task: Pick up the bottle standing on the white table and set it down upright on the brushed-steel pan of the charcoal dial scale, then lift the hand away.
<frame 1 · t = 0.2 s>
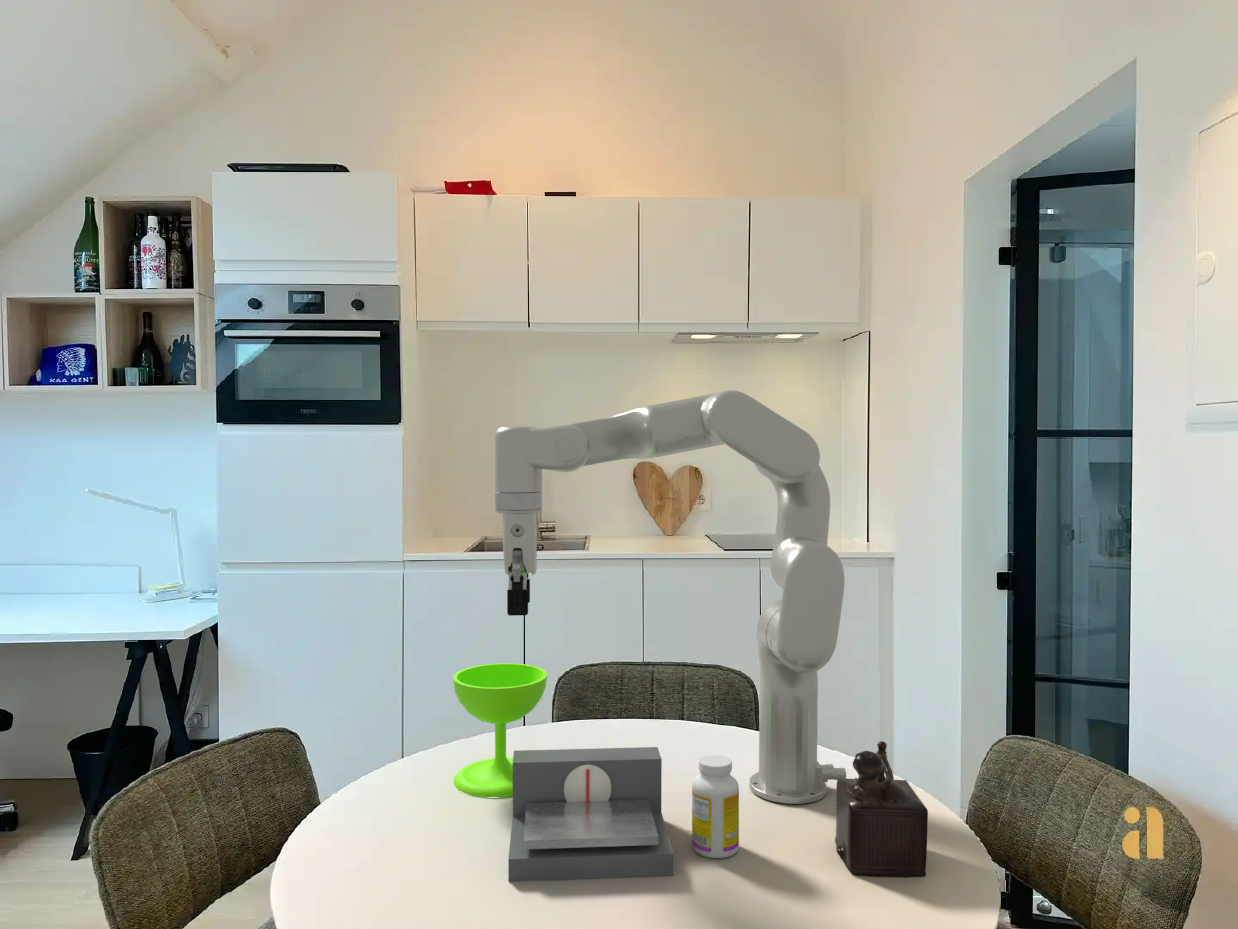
hand: (519, 608, 142), 31 cm above the table, tool pointing down, fingers open, 9 cm apart
scale: (588, 847, 126), on the table
supplement bottle: (715, 850, 126), on the table
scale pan: (589, 823, 124), point 5 cm above the table, slide at 0.0 cm, touching scale
manual coffee grinder: (881, 868, 121), on the table
wineglass: (500, 780, 151), on the table
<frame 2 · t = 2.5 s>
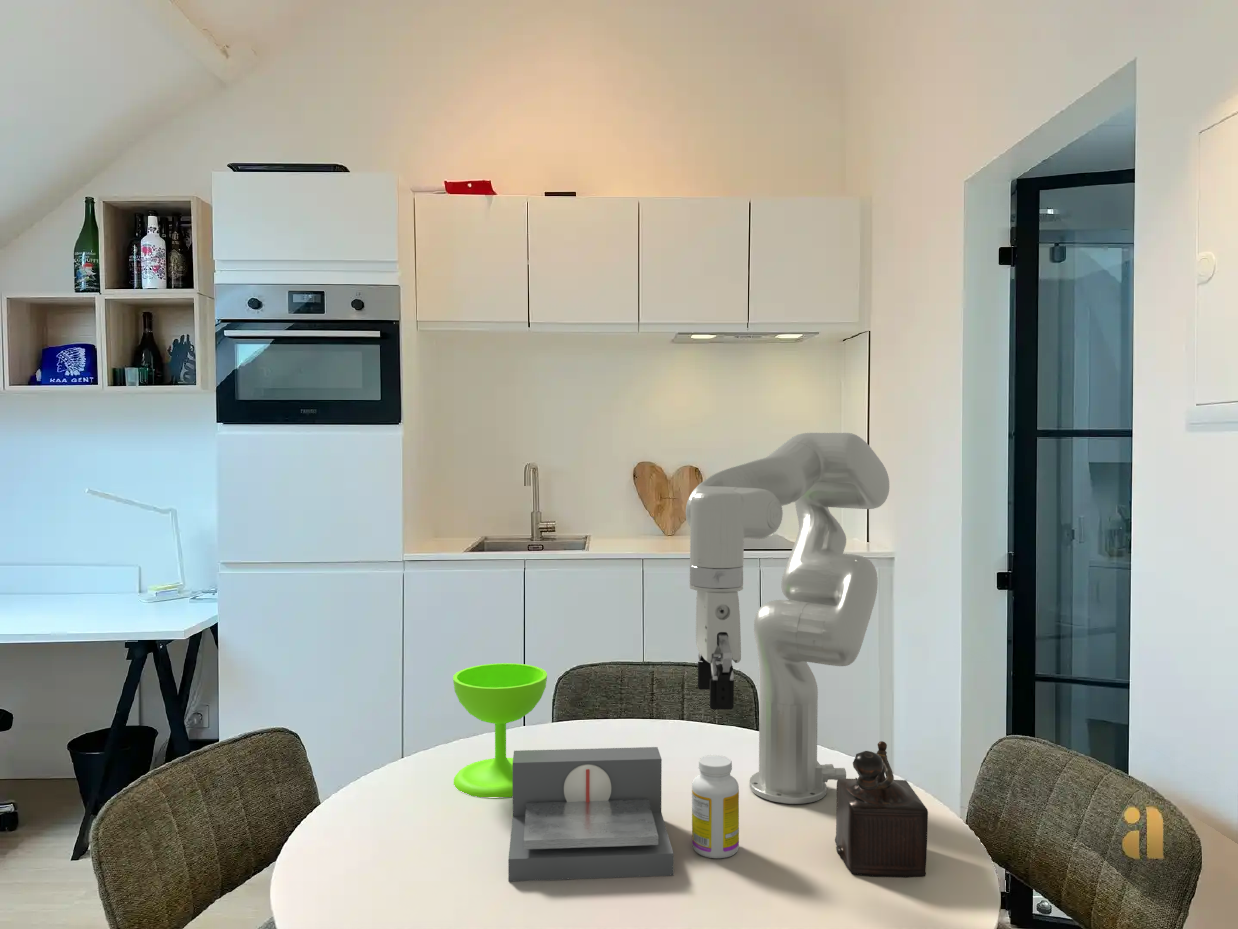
hand: (714, 698, 125), 22 cm above the table, tool pointing down, fingers open, 9 cm apart
nothing on the table moved.
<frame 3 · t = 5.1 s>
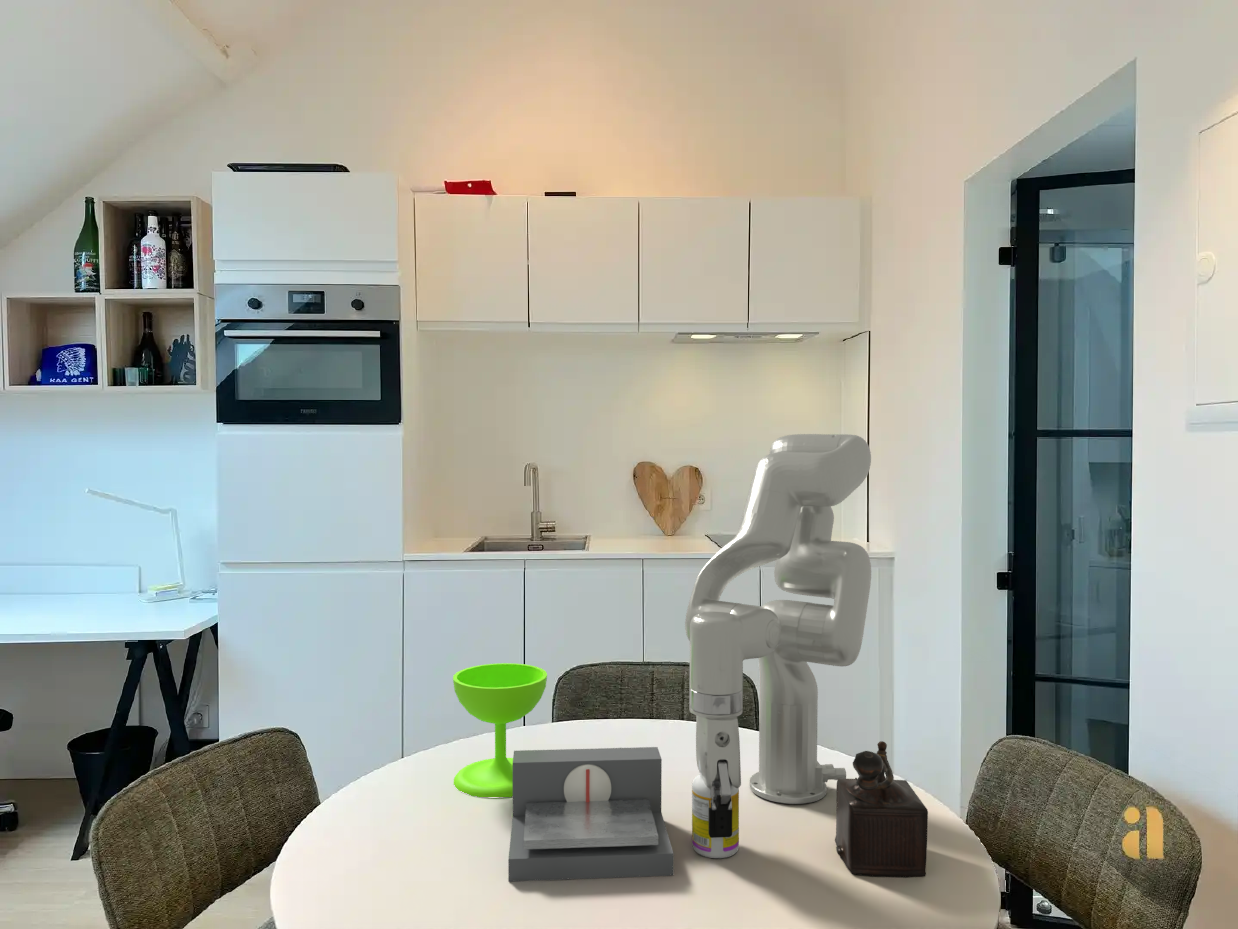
hand: (715, 823, 126), 4 cm above the table, tool pointing down, fingers closed on supplement bottle, 6 cm apart
supplement bottle: (715, 850, 126), on the table, touching gripper
everything else where it was.
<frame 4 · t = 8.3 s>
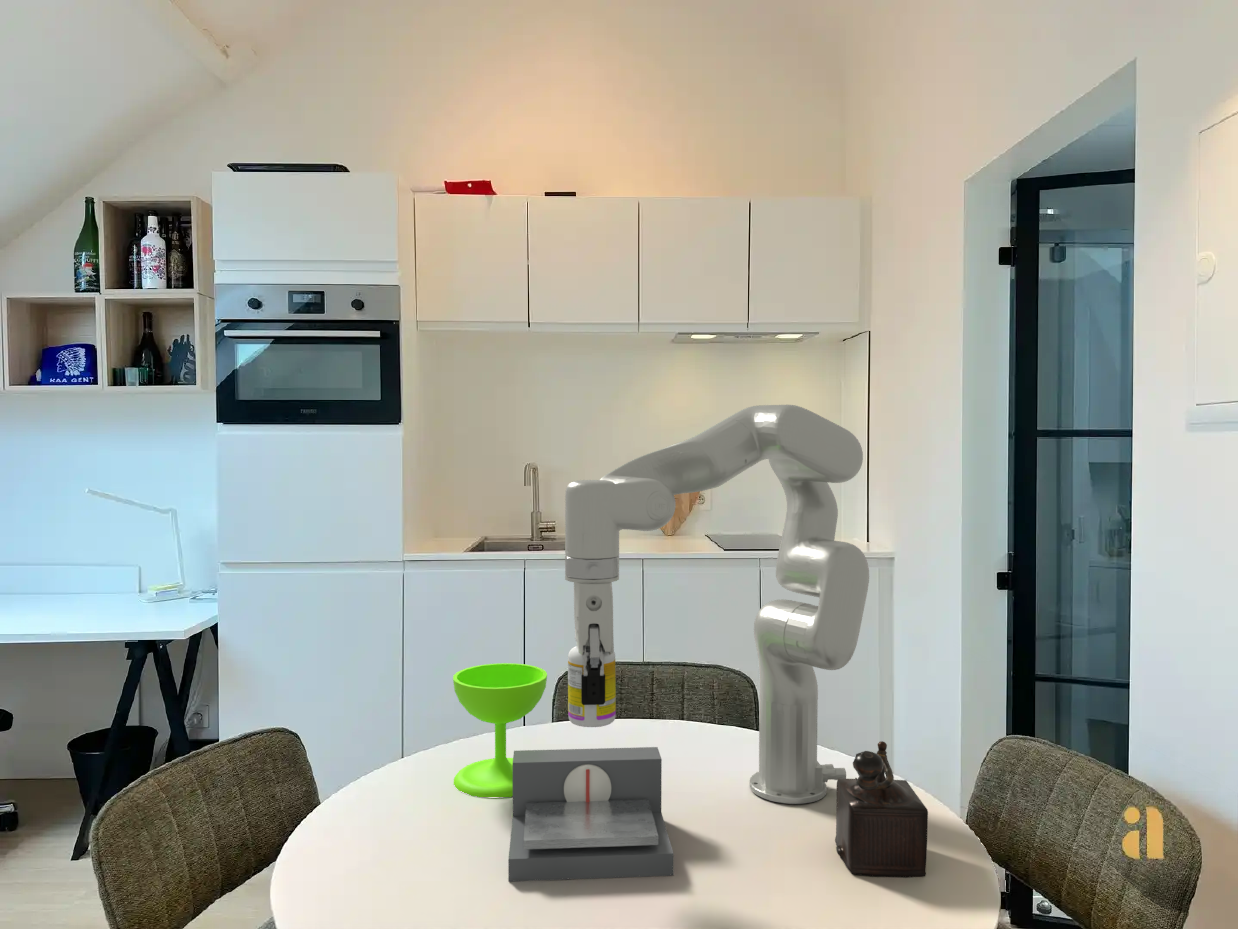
hand: (591, 695, 123), 23 cm above the table, tool pointing down, fingers closed on supplement bottle, 6 cm apart
supplement bottle: (591, 722, 123), point 19 cm above the table, touching gripper
everything else where it was.
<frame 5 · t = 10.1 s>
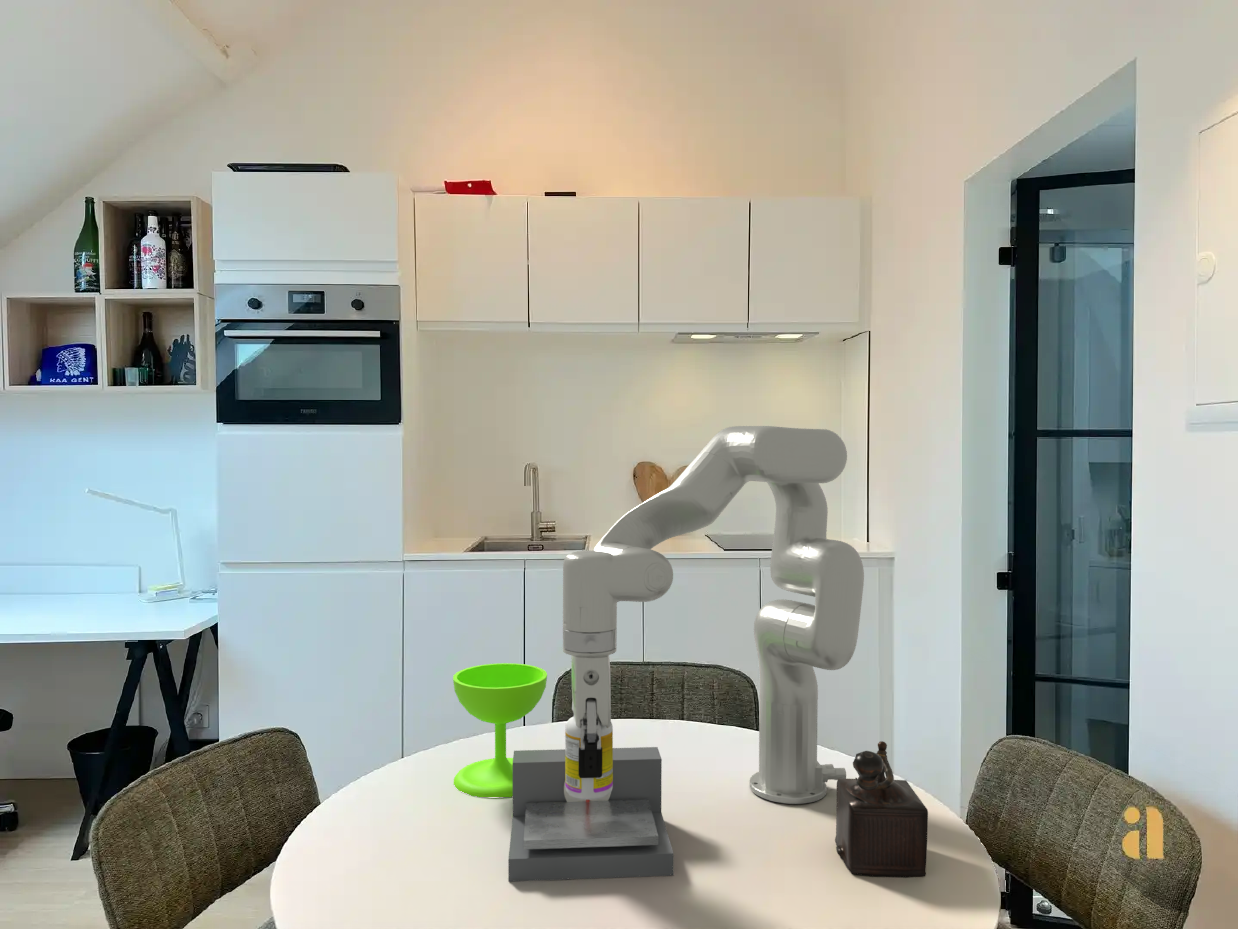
hand: (589, 765, 123), 13 cm above the table, tool pointing down, fingers closed on supplement bottle, 6 cm apart
supplement bottle: (588, 793, 124), point 9 cm above the table, touching gripper
everything else where it was.
when the fingers open (10 cm above the table, at t = 11.6 s): supplement bottle drops 1 cm, resting on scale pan.
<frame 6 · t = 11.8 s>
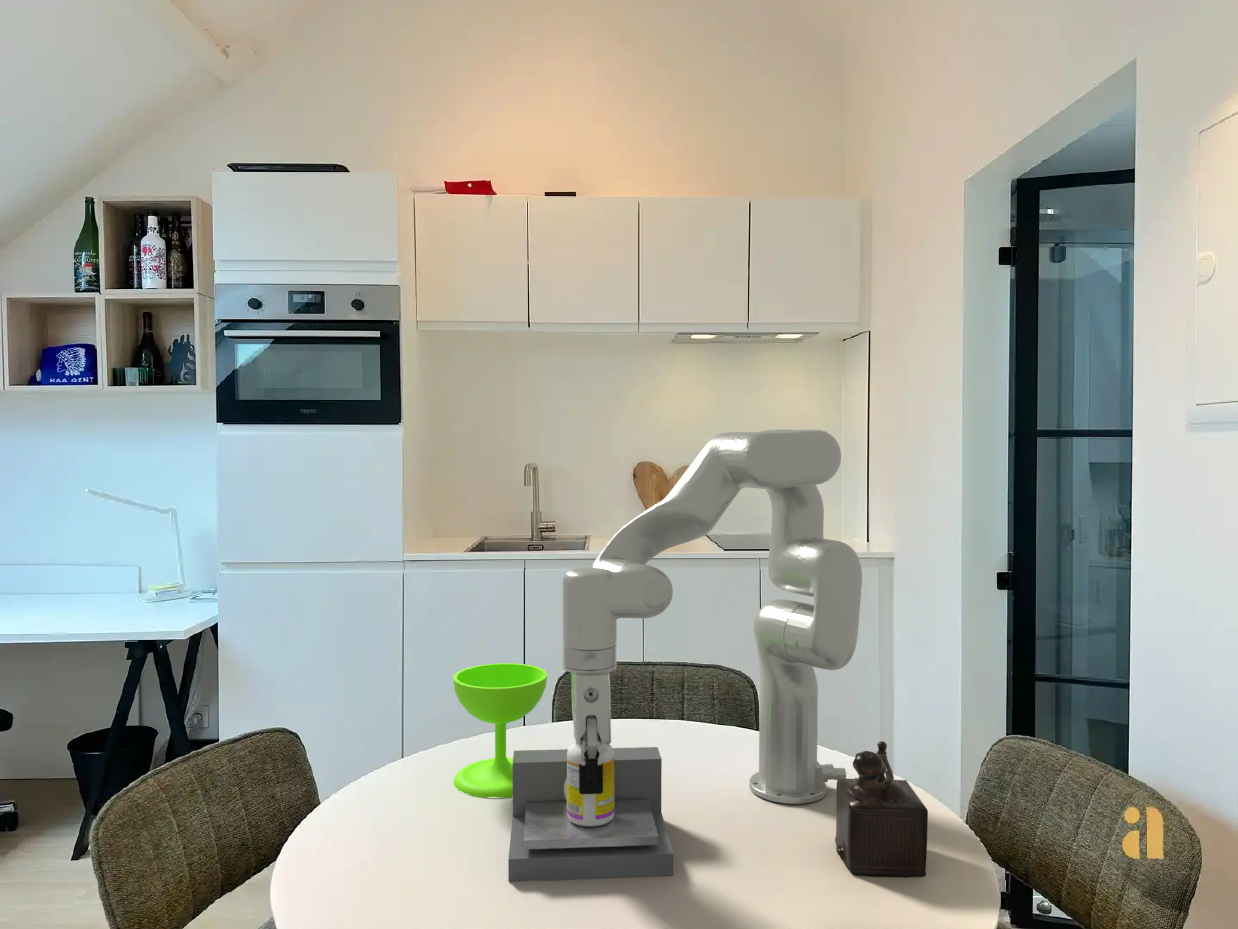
hand: (589, 779, 124), 11 cm above the table, tool pointing down, fingers open, 8 cm apart
supplement bottle: (590, 819, 124), point 5 cm above the table, touching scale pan
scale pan: (589, 823, 124), point 5 cm above the table, slide at 0.0 cm, touching supplement bottle, scale
everything else where it was.
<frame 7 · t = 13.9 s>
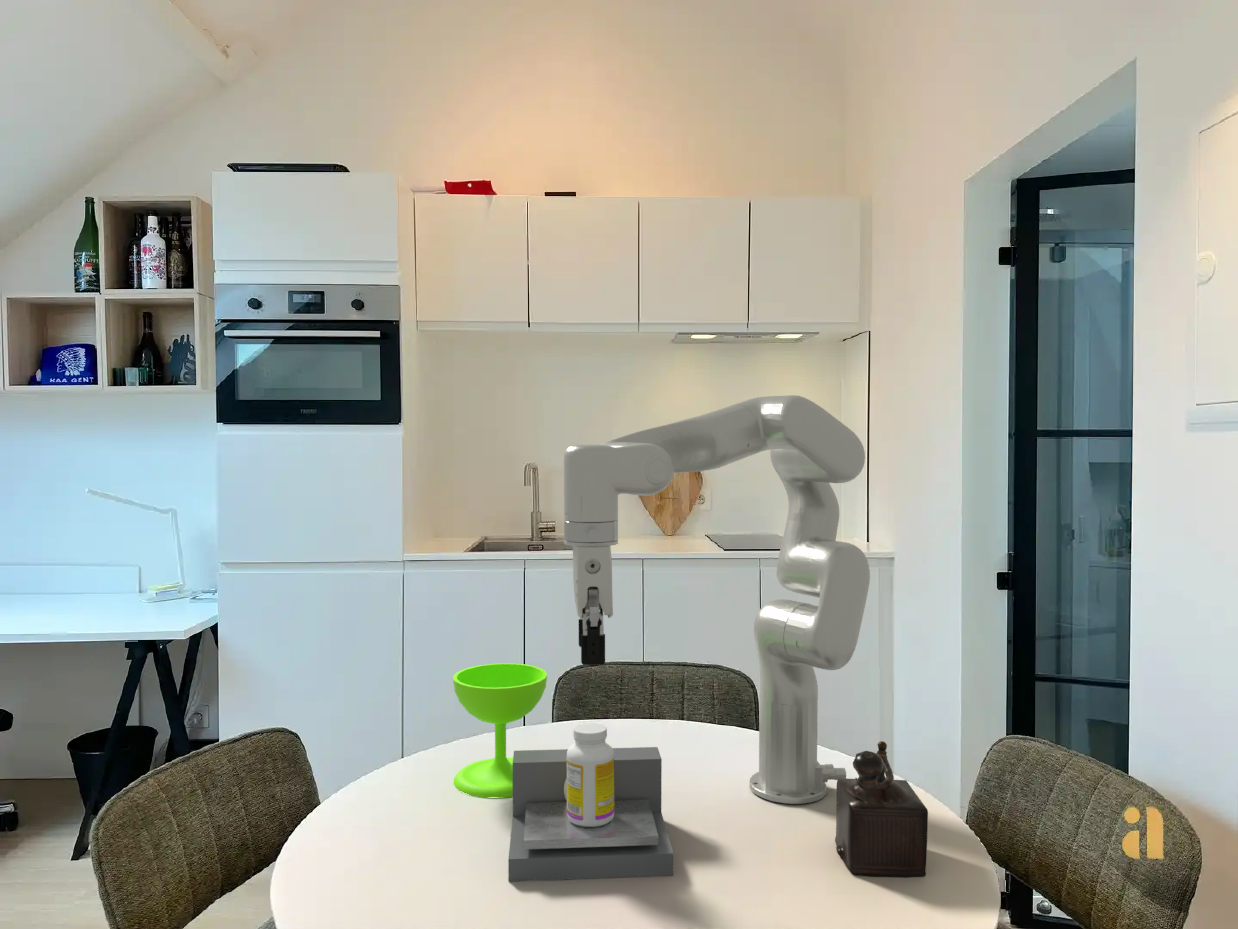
hand: (591, 655, 123), 28 cm above the table, tool pointing down, fingers open, 9 cm apart
nothing on the table moved.
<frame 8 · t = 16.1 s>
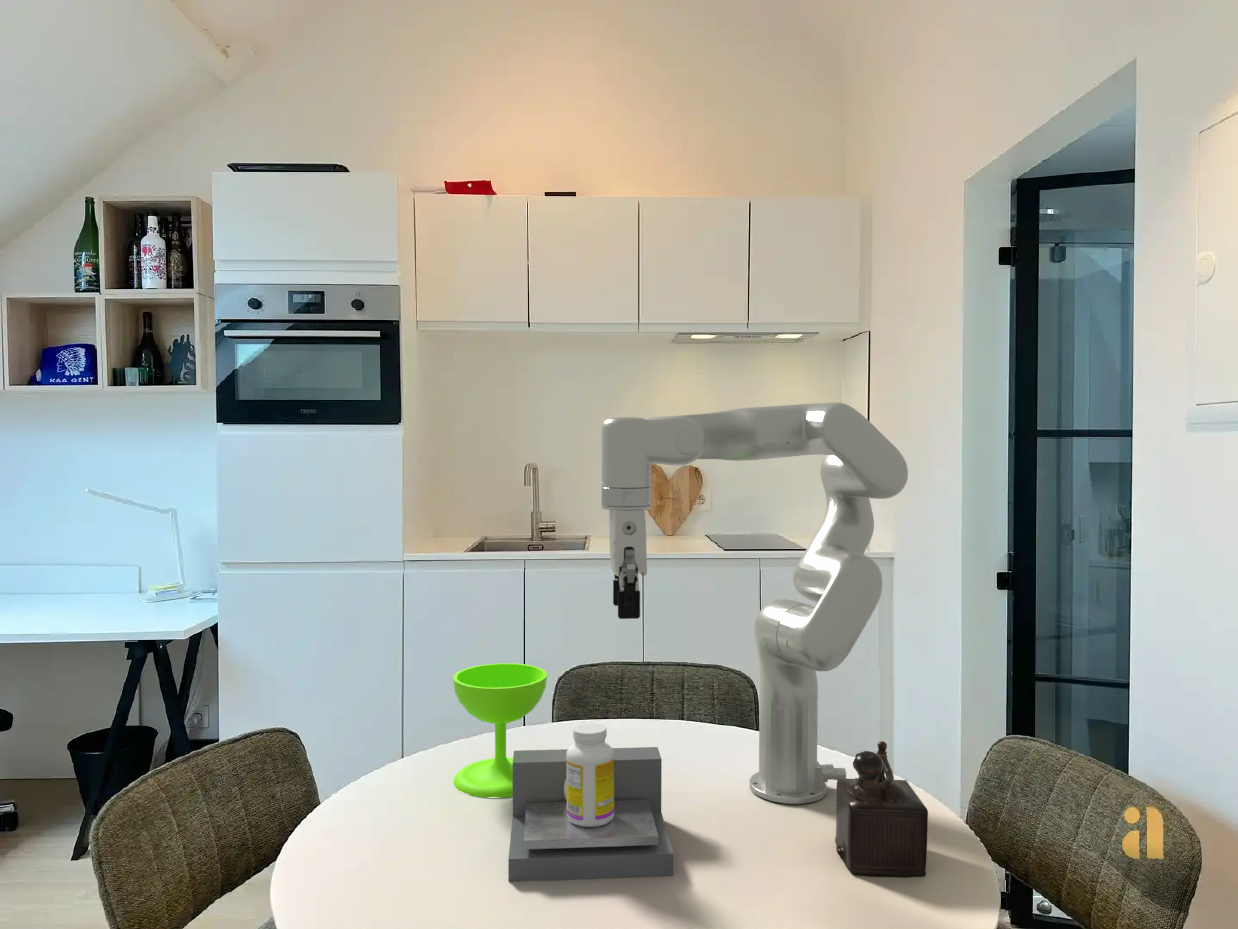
hand: (626, 611, 134), 32 cm above the table, tool pointing down, fingers open, 9 cm apart
nothing on the table moved.
at the end: supplement bottle inside the target area on the scale (0.3 cm from its centre), point 5.0 cm above the scale's base; supplement bottle tilted 0°; the gripper is holding nothing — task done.
